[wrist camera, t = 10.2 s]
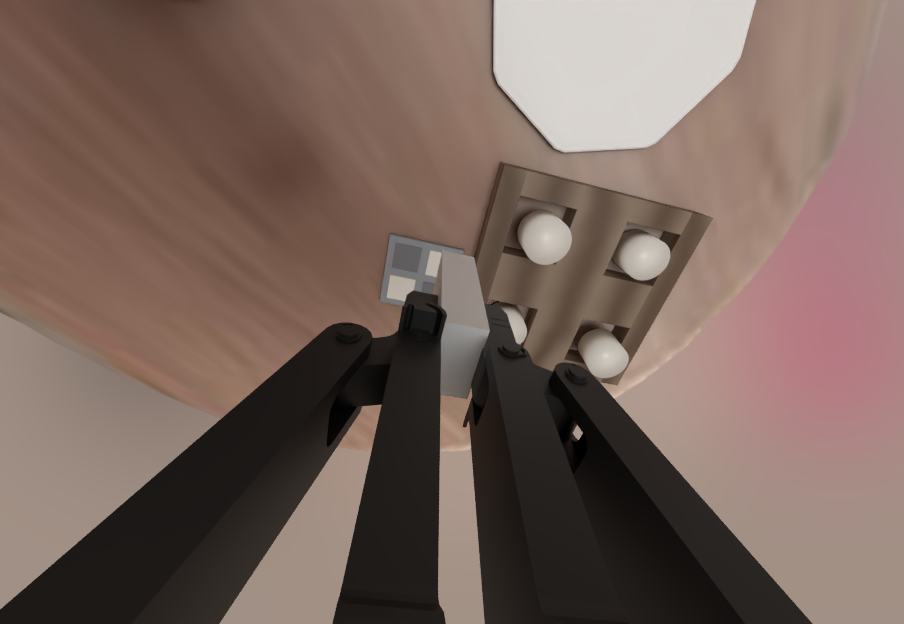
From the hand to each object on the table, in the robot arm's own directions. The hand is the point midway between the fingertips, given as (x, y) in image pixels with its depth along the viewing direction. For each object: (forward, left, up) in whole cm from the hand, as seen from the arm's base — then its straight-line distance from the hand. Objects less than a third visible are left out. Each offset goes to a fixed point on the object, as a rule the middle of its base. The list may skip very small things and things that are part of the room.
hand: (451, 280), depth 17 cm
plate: (+12, +19, -27) cm, 35 cm away
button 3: (+23, -14, -23) cm, 36 cm away
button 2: (+11, -2, -23) cm, 26 cm away
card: (-1, -11, -26) cm, 29 cm away
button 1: (+11, -14, -26) cm, 31 cm away
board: (+17, -8, -26) cm, 32 cm away
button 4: (+23, -2, -26) cm, 35 cm away
